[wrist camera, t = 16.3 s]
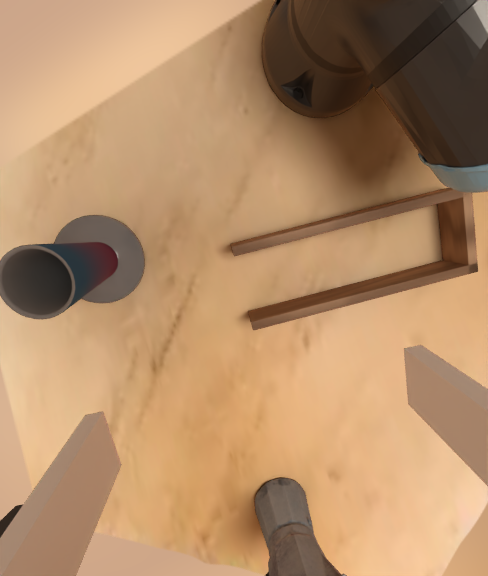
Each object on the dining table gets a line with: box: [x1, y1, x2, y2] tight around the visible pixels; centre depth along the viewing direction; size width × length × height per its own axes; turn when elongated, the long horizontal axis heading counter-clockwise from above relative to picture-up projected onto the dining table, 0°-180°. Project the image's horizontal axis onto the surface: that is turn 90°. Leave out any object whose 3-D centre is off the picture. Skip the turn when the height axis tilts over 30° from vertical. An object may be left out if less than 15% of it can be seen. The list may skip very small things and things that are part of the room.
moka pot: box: [255, 478, 347, 576], centre depth 45 cm, size 10×15×20 cm, turn 144°
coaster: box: [54, 215, 145, 303], centre depth 43 cm, size 12×12×1 cm
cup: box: [0, 242, 118, 319], centre depth 35 cm, size 7×7×15 cm
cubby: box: [231, 188, 478, 330], centre depth 43 cm, size 11×31×5 cm, turn 104°
